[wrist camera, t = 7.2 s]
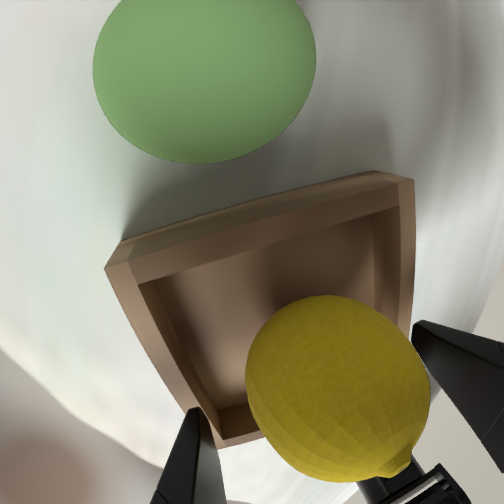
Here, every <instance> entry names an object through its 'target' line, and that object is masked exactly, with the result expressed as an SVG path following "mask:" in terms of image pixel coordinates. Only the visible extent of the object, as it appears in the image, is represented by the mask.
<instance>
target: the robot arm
mask: <svg viewBox="0 0 504 504" xmlns="http://www.w3.org/2000/svg"><path fill="white" fill-rule="evenodd" d="M411 342H412V345H413V346H414V348H415V350H416V351H417V353H418V354H419V356H420V357H421V359H422V361H423V362H424V364H425V366H426V367H427V369H428V370H429V372H430V373H431V375H432V376H433V377H434V378H435V380H436V381H437V382H438V384H439V385H440V386H441V387H442V389H443V390H444V391H445V393H446V394H447V395H448V397H449V398H450V399H451V401H452V402H453V403H454V405H455V406H456V407H457V408H458V410H459V411H460V413H461V414H462V416H463V417H464V418H465V420H466V421H467V422H468V424H469V425H470V426H471V428H472V429H473V431H474V432H475V433H476V435H477V437H478V438H479V439H480V440H481V443H482V444H483V445H484V447H485V448H486V450H487V451H488V453H489V454H490V456H491V457H492V459H493V460H494V461H495V463H496V465H497V467H498V468H499V469H500V471H501V472H502V473H504V343H503V342H499V341H495V340H492V339H488V338H485V337H481V336H477V335H474V334H470V333H467V332H463V331H460V330H456V329H453V328H450V327H446V326H443V325H439V324H436V323H432V322H429V321H426V320H420V321H418V322H416V323H415V324H414V325H413V329H412V336H411ZM435 479H437V481H438V482H437V483H435V484H434V485H432V486H431V487H429V488H428V489H427V490H425V491H424V492H422V493H421V494H419V495H418V496H416V497H415V498H413V499H412V500H410V501H408V502H407V503H405V504H471V501H470V500H469V498H468V496H467V495H466V494H465V492H464V491H463V490H462V488H461V487H460V486H459V485H458V484H457V483H456V481H455V480H454V479H453V478H452V477H451V475H450V474H449V473H448V472H447V471H446V470H445V468H444V467H443V466H442V465H441V464H440V463H439V464H437V465H436V466H435V467H434V469H432V470H431V471H430V472H428V473H427V474H425V472H424V471H423V469H422V468H421V467H420V465H419V464H418V462H417V461H416V459H415V458H414V457H413V455H412V454H411V462H410V464H409V465H408V466H407V467H406V468H405V469H404V470H403V471H402V472H400V473H399V474H397V475H395V476H394V477H391V478H386V477H380V476H375V477H372V478H369V479H366V480H361V481H357V482H356V483H357V485H358V487H359V489H360V491H361V492H362V494H363V496H364V498H365V500H366V502H367V503H368V504H399V503H401V502H402V501H404V500H406V499H407V498H409V497H411V496H412V495H414V494H415V493H417V492H418V491H420V490H421V489H423V488H424V487H425V486H427V485H428V484H430V483H431V482H433V481H434V480H435ZM150 504H227V502H226V496H225V490H224V484H223V478H222V471H221V465H220V460H219V456H218V452H217V448H216V445H215V441H214V437H213V434H212V430H211V426H210V423H209V420H208V418H207V417H206V415H205V413H204V412H203V410H202V409H201V408H200V407H194V408H190V409H188V411H187V413H186V415H185V418H184V420H183V423H182V425H181V428H180V430H179V433H178V435H177V438H176V440H175V443H174V445H173V448H172V450H171V453H170V455H169V458H168V460H167V463H166V465H165V468H164V470H163V473H162V475H161V478H160V480H159V483H158V485H157V490H155V492H154V495H153V497H152V500H151V502H150Z"/></svg>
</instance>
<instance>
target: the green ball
mask: <svg viewBox="0 0 504 504" xmlns="http://www.w3.org/2000/svg"><path fill="white" fill-rule="evenodd" d="M315 68H316V51H315V42H314V38H313V33H312V30H311V27H310V25H309V22H308V20H307V18H306V16H305V15H304V13H303V11H302V10H301V8H300V7H299V5H298V4H297V3H296V2H295V0H122V1H121V2H120V3H119V4H118V5H117V6H116V8H115V9H114V10H113V12H112V13H111V14H110V16H109V17H108V19H107V21H106V23H105V24H104V26H103V28H102V30H101V32H100V35H99V38H98V40H97V43H96V47H95V52H94V58H93V81H94V88H95V92H96V95H97V99H98V101H99V103H100V105H101V108H102V110H103V112H104V114H105V116H106V117H107V119H108V120H109V122H110V123H111V125H112V126H113V127H114V128H115V129H116V130H117V131H118V132H119V134H120V135H121V136H123V137H124V138H125V139H126V140H128V141H129V142H130V143H131V144H133V145H134V146H136V147H138V148H139V149H141V150H143V151H144V152H147V153H149V154H151V155H154V156H156V157H159V158H162V159H165V160H169V161H173V162H179V163H186V164H207V163H217V162H222V161H227V160H231V159H234V158H238V157H241V156H244V155H246V154H248V153H250V152H253V151H255V150H257V149H259V148H260V147H262V146H264V145H265V144H267V143H269V142H270V141H271V140H272V139H274V138H275V137H276V136H278V135H279V134H280V133H281V132H282V131H283V130H284V129H285V128H286V127H287V126H288V125H289V124H290V123H291V122H292V121H293V120H294V118H295V117H296V116H297V114H298V113H299V112H300V110H301V108H302V106H303V105H304V103H305V101H306V99H307V97H308V94H309V91H310V89H311V86H312V83H313V79H314V75H315Z"/></svg>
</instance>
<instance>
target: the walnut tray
mask: <svg viewBox="0 0 504 504" xmlns="http://www.w3.org/2000/svg"><path fill="white" fill-rule="evenodd" d="M415 253H416V216H415V192H414V179H410V178H406V177H402V176H397V175H393V174H389V173H384V172H380V171H370V172H365V173H361V174H357V175H352V176H348V177H343V178H339V179H335V180H331V181H326V182H322V183H318V184H314V185H310V186H306V187H302V188H298V189H294V190H290V191H286V192H283V193H279V194H275V195H271V196H268V197H264V198H260V199H256V200H253V201H249V202H246V203H242V204H238V205H235V206H231V207H228V208H225V209H221V210H218V211H214V212H211V213H207V214H204V215H201V216H197V217H194V218H191V219H188V220H184V221H181V222H178V223H175V224H172V225H168V226H165V227H162V228H159V229H156V230H153V231H150V232H147V233H144V234H141V235H138V236H135V237H132V238H129V239H126V240H123V241H120V242H119V244H118V246H117V247H116V249H115V251H114V252H113V254H112V256H111V257H110V259H109V261H108V262H107V264H106V266H105V267H104V270H105V272H106V275H107V277H108V279H109V281H110V284H111V286H112V288H113V290H114V292H115V294H116V296H117V298H118V300H119V302H120V305H121V307H122V309H123V311H124V313H125V314H126V316H127V318H128V320H129V322H130V324H131V326H132V328H133V330H134V332H135V334H136V335H137V337H138V339H139V341H140V343H141V344H142V346H143V348H144V350H145V351H146V353H147V355H148V357H149V358H150V360H151V362H152V363H153V365H154V367H155V368H156V370H157V372H158V373H159V375H160V377H161V378H162V380H163V381H164V383H165V385H166V386H167V388H168V389H169V391H170V392H171V394H172V395H173V397H174V398H175V400H176V401H177V403H178V404H179V406H180V407H181V409H182V410H183V412H184V413H185V414H186V413H187V411H188V409H190V408H194V407H200V408H201V409H202V410H203V412H204V413H205V415H206V417H207V418H208V420H209V423H210V426H211V430H212V434H213V437H214V441H215V445H216V448H217V450H218V449H222V448H227V447H231V446H235V445H239V444H242V443H246V442H250V441H253V440H257V439H260V438H264V437H265V436H264V434H263V433H262V431H261V430H260V428H259V427H258V425H257V423H256V421H255V419H254V417H253V414H252V411H251V409H250V405H249V401H248V395H247V389H246V383H245V369H246V363H247V357H248V352H249V349H250V347H251V344H252V342H253V340H254V338H255V336H256V334H257V333H258V331H259V330H260V329H261V328H262V326H263V325H264V324H265V323H266V321H267V320H268V319H269V318H270V317H271V316H273V315H274V314H275V313H276V312H277V311H278V310H280V309H281V308H283V307H285V306H287V305H289V304H290V303H292V302H294V301H297V300H301V299H304V298H307V297H310V296H321V295H335V296H341V297H346V298H351V299H354V300H357V301H359V302H362V303H364V304H366V305H368V306H369V307H371V308H373V309H374V310H376V311H378V312H379V313H381V314H382V315H384V316H385V317H387V318H388V319H389V320H391V321H392V322H393V323H394V324H395V325H396V326H397V327H398V328H399V329H400V330H401V331H402V332H403V333H404V335H405V336H406V337H407V339H408V337H409V330H410V322H411V313H412V303H413V292H414V277H415Z"/></svg>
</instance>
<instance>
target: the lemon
mask: <svg viewBox="0 0 504 504" xmlns="http://www.w3.org/2000/svg"><path fill="white" fill-rule="evenodd" d="M245 383H246V389H247V395H248V401H249V405H250V409H251V411H252V414H253V417H254V419H255V421H256V423H257V425H258V427H259V428H260V430H261V431H262V433H263V434H264V436H265V437H266V439H267V440H268V441H269V443H270V444H271V445H272V447H273V448H274V449H275V450H276V451H277V453H278V454H279V455H280V456H281V457H282V458H283V459H284V460H285V461H286V462H287V463H288V464H289V465H291V466H292V467H293V468H295V469H296V470H298V471H299V472H301V473H303V474H305V475H308V476H310V477H313V478H316V479H320V480H323V481H328V482H337V483H342V482H357V481H361V480H366V479H369V478H372V477H375V476H380V477H386V478H391V477H394V476H395V475H397V474H399V473H400V472H402V471H403V470H404V469H405V468H406V467H407V466H408V465H409V464H410V462H411V454H412V449H413V447H414V446H415V445H416V443H417V441H418V439H419V438H420V436H421V434H422V432H423V430H424V428H425V425H426V421H427V418H428V414H429V408H430V383H429V378H428V375H427V372H426V369H425V367H424V365H423V363H422V361H421V359H420V357H419V356H418V354H417V352H416V350H415V349H414V347H413V346H412V344H411V343H410V341H409V340H408V339H407V337H406V336H405V335H404V333H403V332H402V331H401V330H400V329H399V328H398V327H397V326H396V325H395V324H394V323H393V322H392V321H391V320H389V319H388V318H387V317H385V316H384V315H382V314H381V313H379V312H378V311H376V310H374V309H373V308H371V307H369V306H368V305H366V304H364V303H362V302H359V301H357V300H354V299H351V298H346V297H341V296H335V295H321V296H310V297H307V298H304V299H301V300H297V301H294V302H292V303H290V304H289V305H287V306H285V307H283V308H281V309H280V310H278V311H277V312H276V313H275V314H274V315H273V316H271V317H270V318H269V319H268V320H267V321H266V323H265V324H264V325H263V326H262V328H261V329H260V330H259V331H258V333H257V334H256V336H255V338H254V340H253V342H252V344H251V347H250V349H249V352H248V357H247V363H246V369H245Z"/></svg>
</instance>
